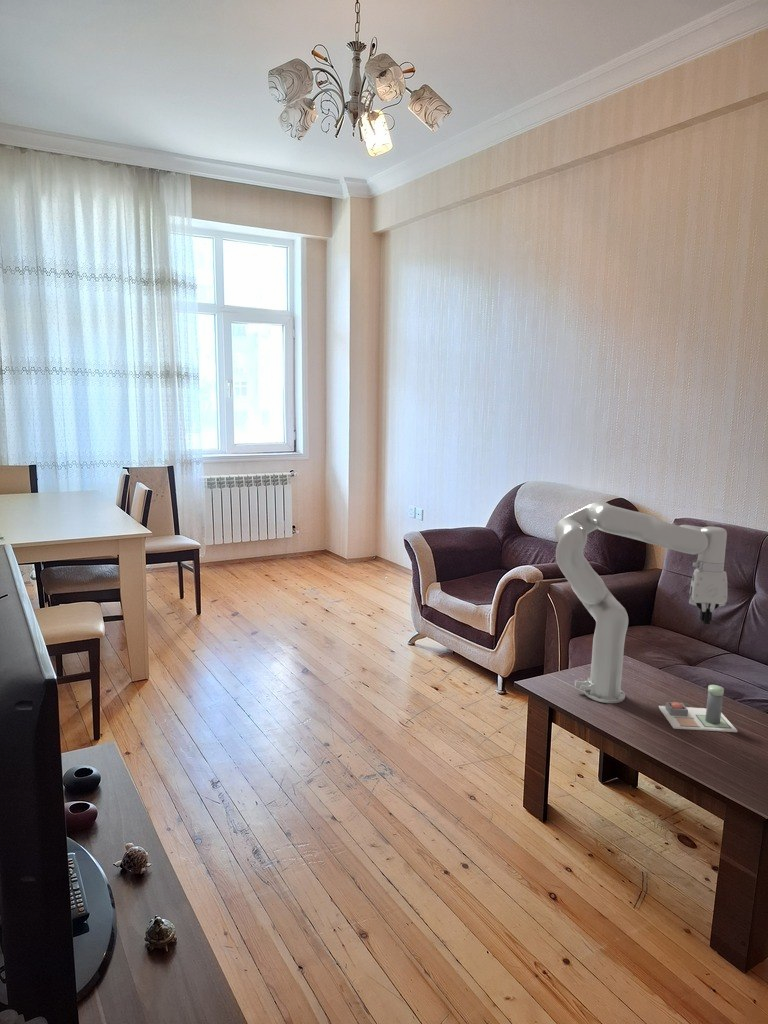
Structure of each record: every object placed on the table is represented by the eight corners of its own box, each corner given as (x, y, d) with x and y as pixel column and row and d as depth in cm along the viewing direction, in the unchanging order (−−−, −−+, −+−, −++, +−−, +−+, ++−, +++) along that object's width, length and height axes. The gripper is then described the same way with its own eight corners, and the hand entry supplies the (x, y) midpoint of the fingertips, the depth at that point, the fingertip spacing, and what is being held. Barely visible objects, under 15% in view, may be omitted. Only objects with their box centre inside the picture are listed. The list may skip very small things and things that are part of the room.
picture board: (673, 728, 199) (674, 720, 199) (658, 707, 213) (659, 699, 213) (737, 732, 198) (738, 724, 198) (718, 710, 212) (719, 703, 211)
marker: (709, 724, 201) (712, 691, 199) (702, 717, 205) (705, 684, 203) (723, 724, 201) (726, 691, 199) (716, 717, 205) (719, 684, 203)
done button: (672, 713, 207) (673, 706, 207) (669, 709, 210) (669, 701, 210) (683, 714, 207) (684, 707, 207) (679, 709, 210) (680, 702, 210)
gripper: (689, 568, 210) (684, 625, 213) (740, 570, 208) (734, 628, 211) (681, 562, 217) (676, 618, 220) (731, 564, 215) (725, 620, 218)
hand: (705, 622), depth 215 cm, fingers closed
